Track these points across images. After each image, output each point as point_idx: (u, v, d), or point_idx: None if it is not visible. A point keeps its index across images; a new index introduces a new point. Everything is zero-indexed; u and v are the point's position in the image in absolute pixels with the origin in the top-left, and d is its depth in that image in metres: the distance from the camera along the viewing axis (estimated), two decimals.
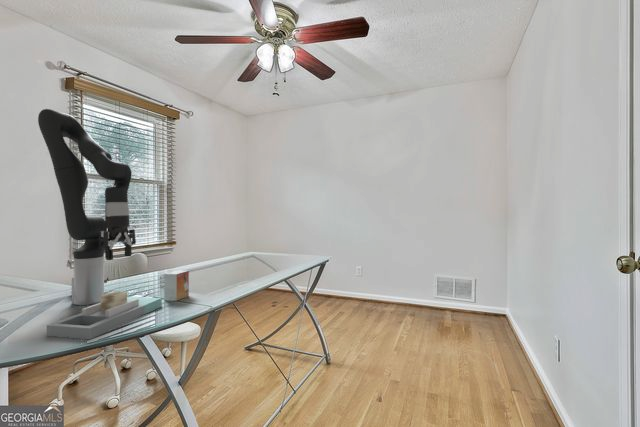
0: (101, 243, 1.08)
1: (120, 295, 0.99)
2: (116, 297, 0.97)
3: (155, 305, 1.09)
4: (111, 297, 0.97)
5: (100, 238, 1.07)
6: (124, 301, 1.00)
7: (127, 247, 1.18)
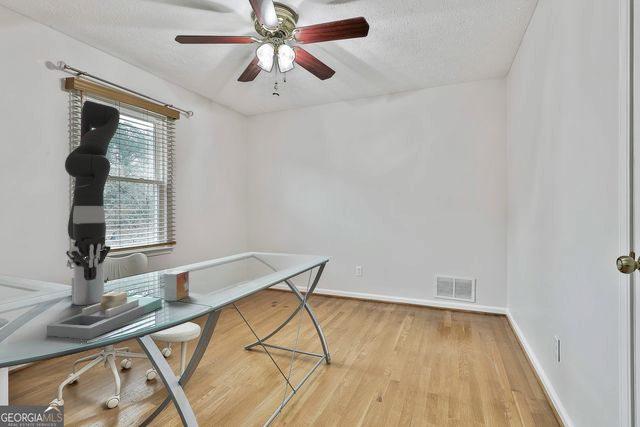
0: (76, 262, 0.87)
1: (120, 295, 0.99)
2: (116, 297, 0.97)
3: (155, 305, 1.09)
4: (111, 297, 0.97)
5: (72, 258, 0.86)
6: (124, 301, 1.00)
7: None
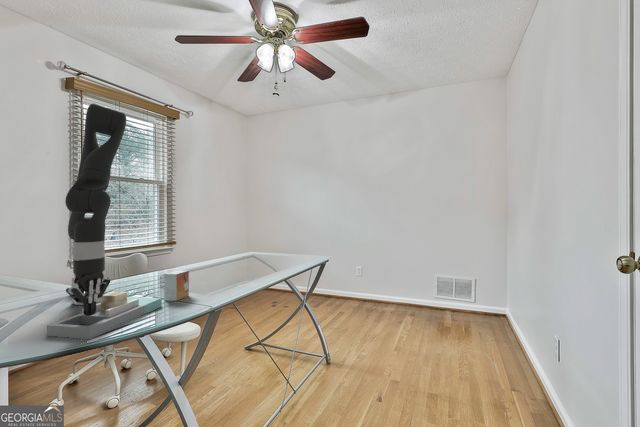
0: (76, 298, 0.87)
1: (120, 295, 0.99)
2: (116, 297, 0.97)
3: (155, 305, 1.09)
4: (111, 297, 0.97)
5: (71, 295, 0.86)
6: (124, 301, 1.00)
7: None
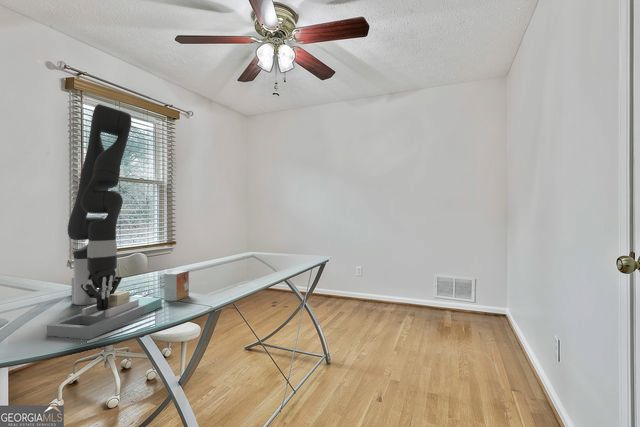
0: (90, 294, 0.92)
1: (123, 294, 1.00)
2: (119, 296, 0.98)
3: (155, 305, 1.09)
4: (114, 296, 0.97)
5: (86, 291, 0.90)
6: (127, 300, 1.01)
7: None
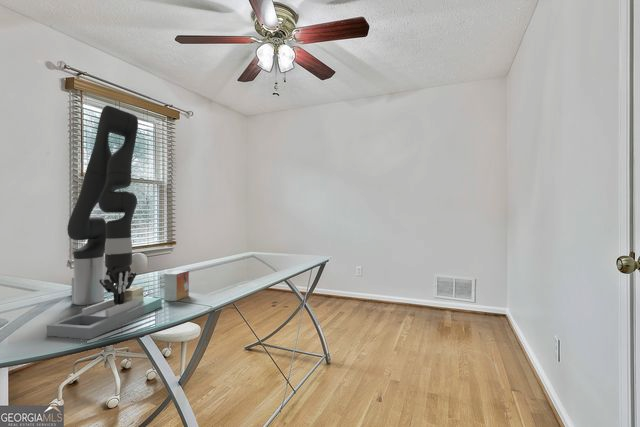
0: (108, 288, 0.98)
1: (137, 290, 1.05)
2: (134, 292, 1.04)
3: (155, 305, 1.09)
4: (129, 292, 1.03)
5: (104, 286, 0.96)
6: (141, 296, 1.07)
7: None
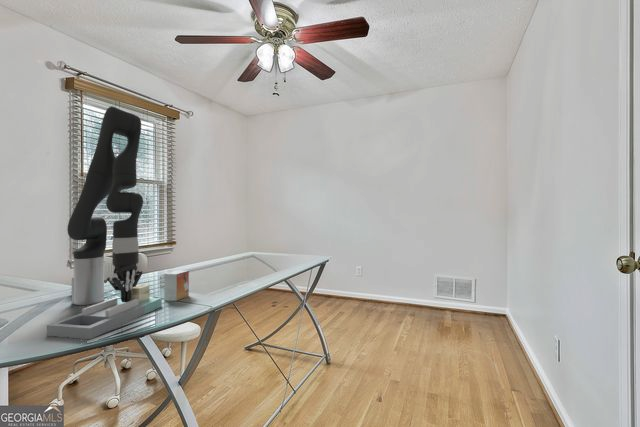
0: None
1: (143, 288, 1.08)
2: (140, 289, 1.07)
3: (155, 305, 1.09)
4: (136, 289, 1.06)
5: (112, 284, 0.99)
6: (147, 293, 1.10)
7: None
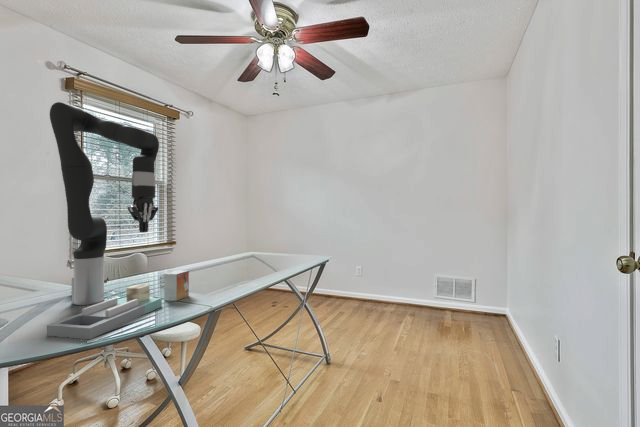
0: (134, 216, 1.09)
1: (143, 288, 1.08)
2: (140, 289, 1.07)
3: (155, 305, 1.09)
4: (136, 289, 1.06)
5: (131, 213, 1.07)
6: (147, 293, 1.10)
7: None
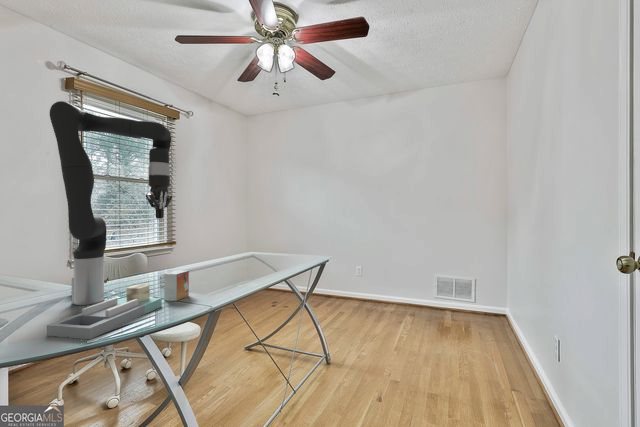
0: (151, 203, 1.18)
1: (143, 288, 1.08)
2: (140, 289, 1.07)
3: (155, 305, 1.09)
4: (136, 289, 1.06)
5: (149, 200, 1.16)
6: (147, 293, 1.10)
7: None
